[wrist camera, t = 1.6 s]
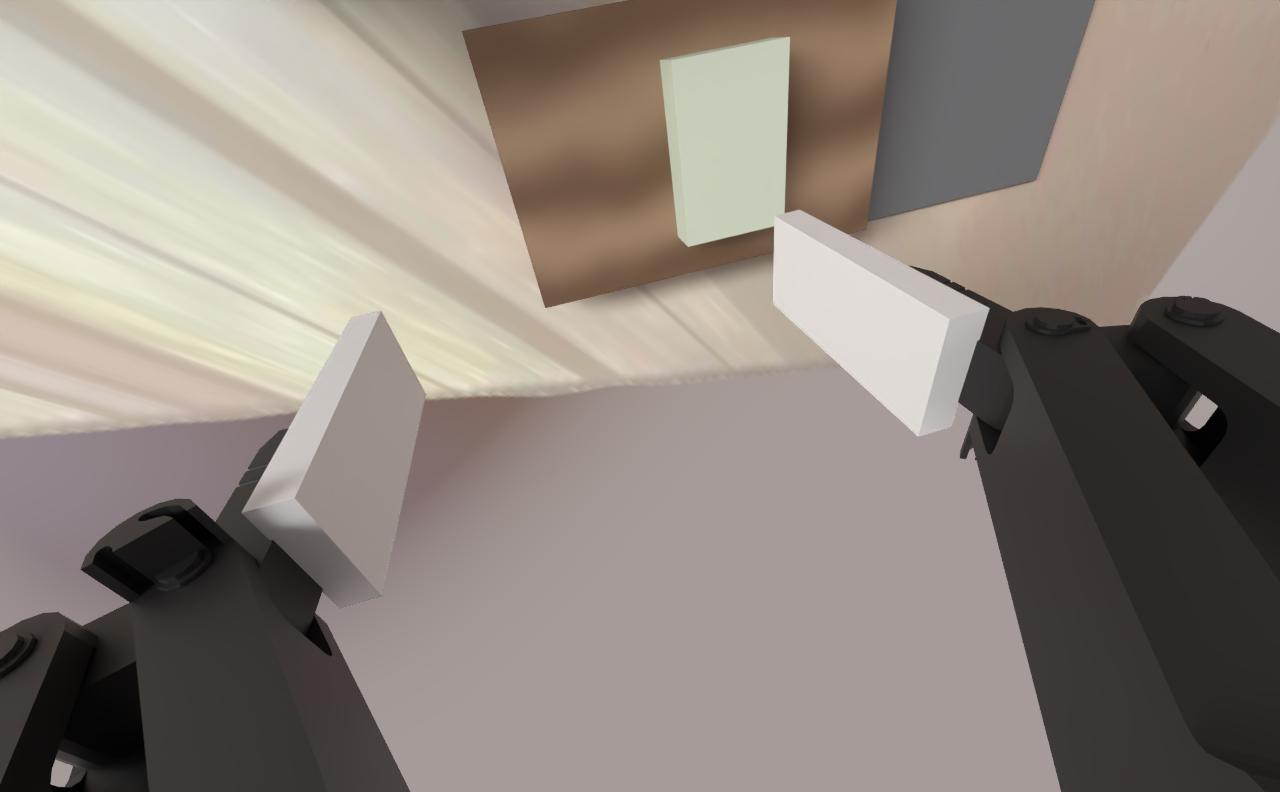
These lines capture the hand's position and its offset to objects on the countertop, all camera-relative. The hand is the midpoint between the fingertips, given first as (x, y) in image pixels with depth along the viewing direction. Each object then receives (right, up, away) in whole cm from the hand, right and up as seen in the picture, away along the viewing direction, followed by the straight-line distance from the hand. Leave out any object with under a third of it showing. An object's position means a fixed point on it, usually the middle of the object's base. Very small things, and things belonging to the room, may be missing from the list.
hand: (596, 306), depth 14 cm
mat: (+23, +19, +19) cm, 35 cm away
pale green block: (+6, +12, +14) cm, 19 cm away
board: (+4, +14, +17) cm, 22 cm away
